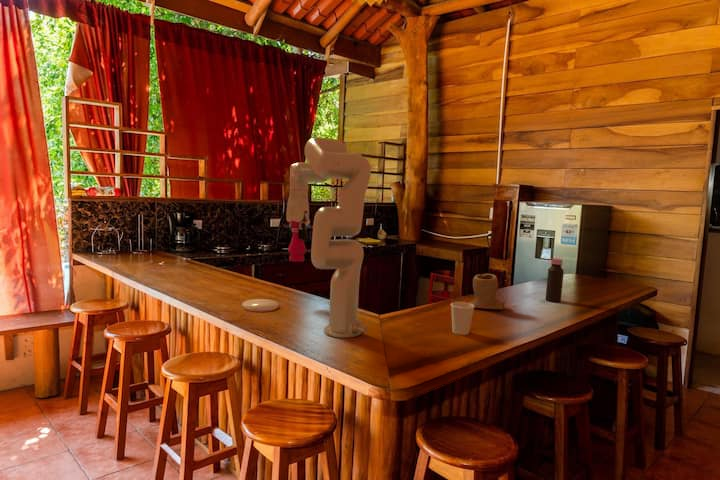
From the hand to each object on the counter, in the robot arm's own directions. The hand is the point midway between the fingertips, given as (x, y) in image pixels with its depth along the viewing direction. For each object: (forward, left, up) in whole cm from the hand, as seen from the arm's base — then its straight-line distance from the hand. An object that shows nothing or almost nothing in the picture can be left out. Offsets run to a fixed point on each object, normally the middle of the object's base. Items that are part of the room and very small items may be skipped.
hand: (297, 237), depth 197 cm
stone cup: (-70, -43, -27) cm, 86 cm away
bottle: (-92, -80, -27) cm, 125 cm away
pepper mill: (0, 0, -10) cm, 10 cm away
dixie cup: (-71, -2, -27) cm, 76 cm away
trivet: (+5, +16, -27) cm, 32 cm away
